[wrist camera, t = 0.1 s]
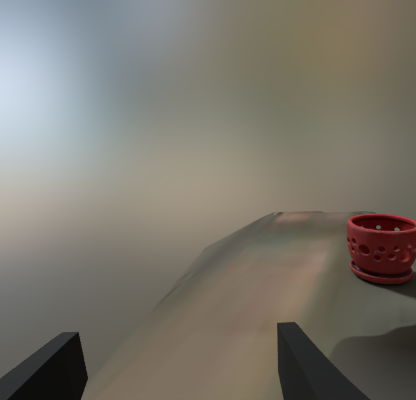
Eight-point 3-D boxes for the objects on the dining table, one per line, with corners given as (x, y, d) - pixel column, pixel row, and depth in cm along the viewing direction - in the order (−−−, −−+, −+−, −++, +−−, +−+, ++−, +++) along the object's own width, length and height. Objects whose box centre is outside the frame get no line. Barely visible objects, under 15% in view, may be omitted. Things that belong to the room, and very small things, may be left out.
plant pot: (333, 268, 68) (333, 217, 66) (382, 260, 71) (384, 211, 68) (377, 295, 55) (379, 232, 53) (435, 284, 58) (439, 224, 56)
